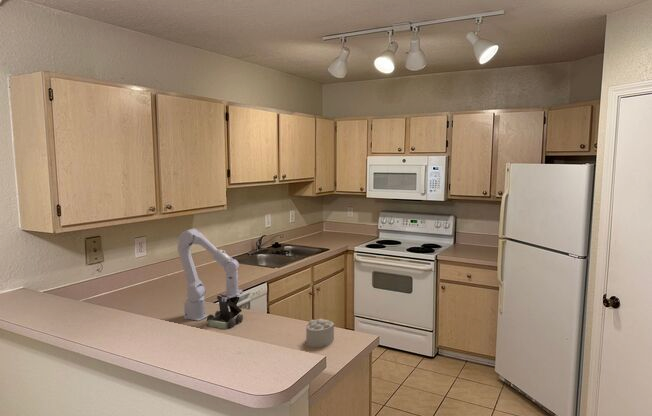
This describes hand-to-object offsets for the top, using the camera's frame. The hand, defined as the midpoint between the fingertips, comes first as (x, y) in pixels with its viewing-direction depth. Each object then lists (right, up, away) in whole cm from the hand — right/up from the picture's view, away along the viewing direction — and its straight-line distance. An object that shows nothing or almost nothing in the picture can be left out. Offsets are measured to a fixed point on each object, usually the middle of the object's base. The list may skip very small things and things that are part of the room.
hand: (232, 311), depth 213 cm
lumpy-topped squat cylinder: (+43, -7, -26) cm, 51 cm away
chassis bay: (-2, -4, -4) cm, 6 cm away
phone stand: (0, -2, 0) cm, 2 cm away
